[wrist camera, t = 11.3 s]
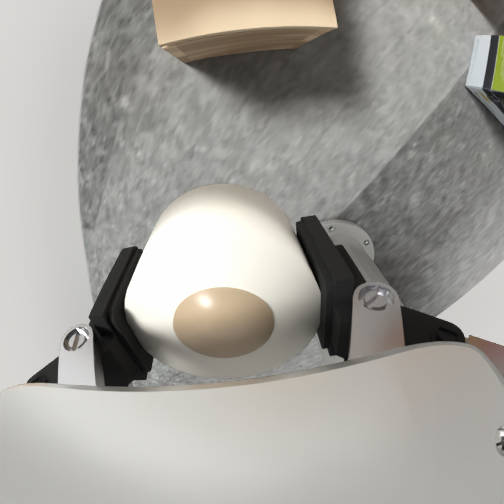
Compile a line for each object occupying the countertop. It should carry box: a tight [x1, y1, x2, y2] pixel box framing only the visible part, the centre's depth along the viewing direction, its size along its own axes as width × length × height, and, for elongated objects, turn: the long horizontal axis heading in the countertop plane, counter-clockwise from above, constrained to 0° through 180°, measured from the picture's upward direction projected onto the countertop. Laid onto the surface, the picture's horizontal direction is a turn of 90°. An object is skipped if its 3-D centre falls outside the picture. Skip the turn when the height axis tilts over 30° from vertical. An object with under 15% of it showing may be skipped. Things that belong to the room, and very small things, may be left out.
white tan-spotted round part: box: [125, 184, 321, 379], centre depth 10 cm, size 6×6×4 cm
